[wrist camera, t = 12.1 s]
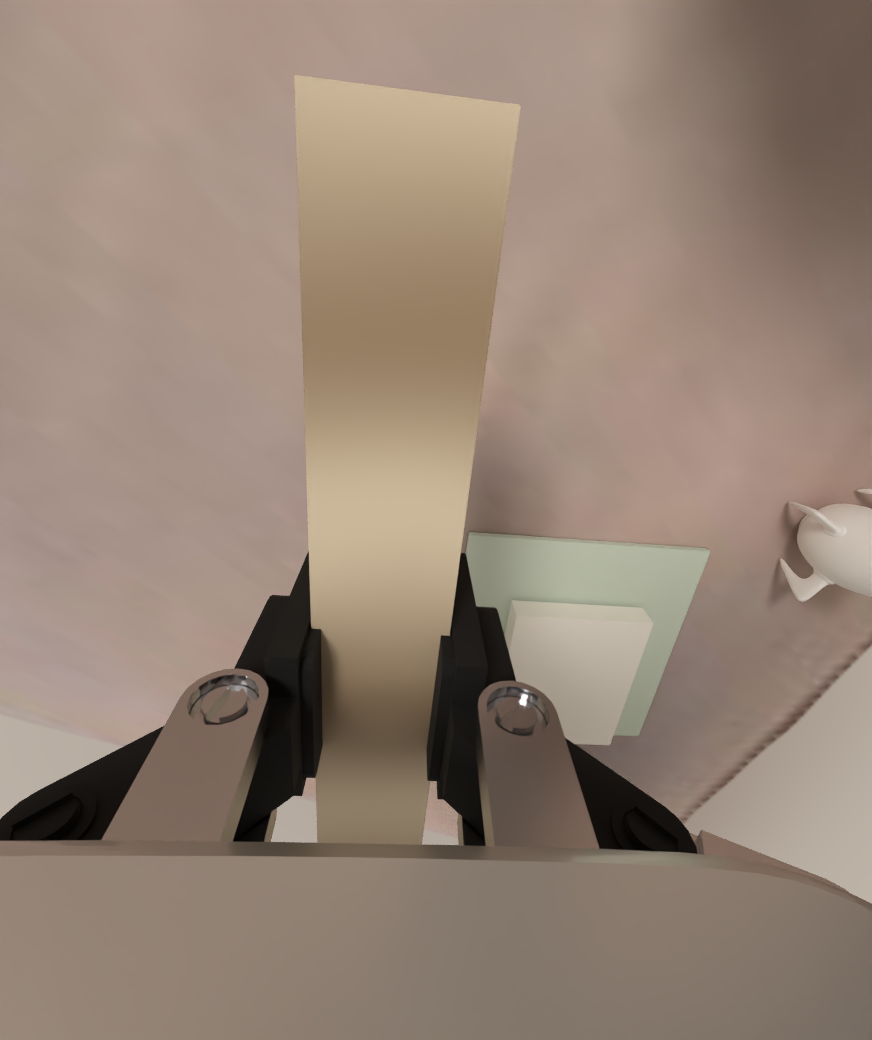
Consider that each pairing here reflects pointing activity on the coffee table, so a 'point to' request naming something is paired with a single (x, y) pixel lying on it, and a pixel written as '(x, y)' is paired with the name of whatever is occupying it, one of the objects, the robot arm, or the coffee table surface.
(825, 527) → the rocket toy
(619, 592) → the sage mat
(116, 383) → the coffee table surface
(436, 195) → the tan wavy bar
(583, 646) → the cream tile
